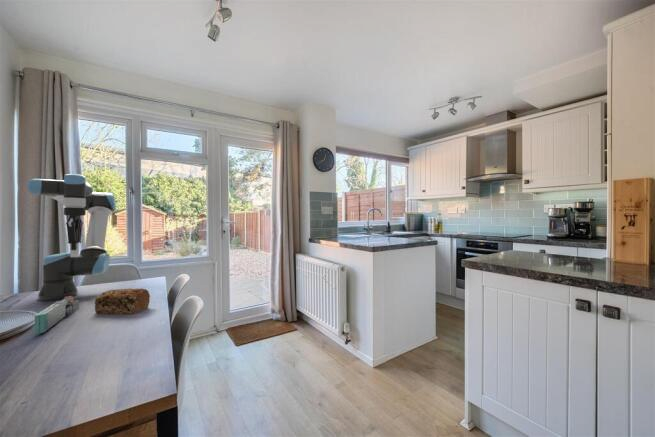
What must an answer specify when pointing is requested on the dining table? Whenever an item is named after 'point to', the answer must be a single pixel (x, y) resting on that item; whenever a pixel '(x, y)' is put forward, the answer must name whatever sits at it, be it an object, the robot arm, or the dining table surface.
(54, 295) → the robot arm
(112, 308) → the bread
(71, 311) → the base
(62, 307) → the jaw
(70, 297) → the tab
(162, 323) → the dining table surface
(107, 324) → the dining table surface
